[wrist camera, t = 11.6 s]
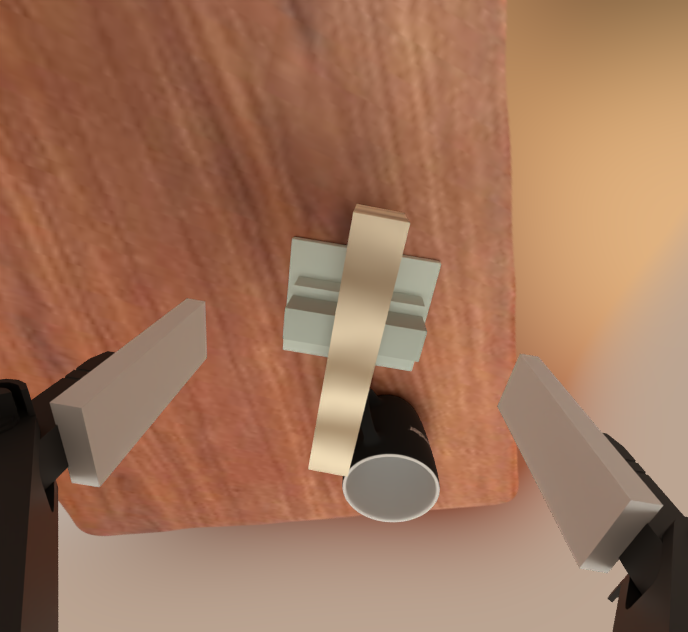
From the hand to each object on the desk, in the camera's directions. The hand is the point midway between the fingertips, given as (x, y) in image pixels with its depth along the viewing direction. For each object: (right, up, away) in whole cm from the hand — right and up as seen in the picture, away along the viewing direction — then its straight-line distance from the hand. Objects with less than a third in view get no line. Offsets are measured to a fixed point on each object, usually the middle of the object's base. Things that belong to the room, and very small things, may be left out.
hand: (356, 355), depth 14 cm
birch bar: (0, 0, +15) cm, 15 cm away
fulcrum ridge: (+1, +3, +21) cm, 21 cm away
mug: (+4, -9, +26) cm, 28 cm away
